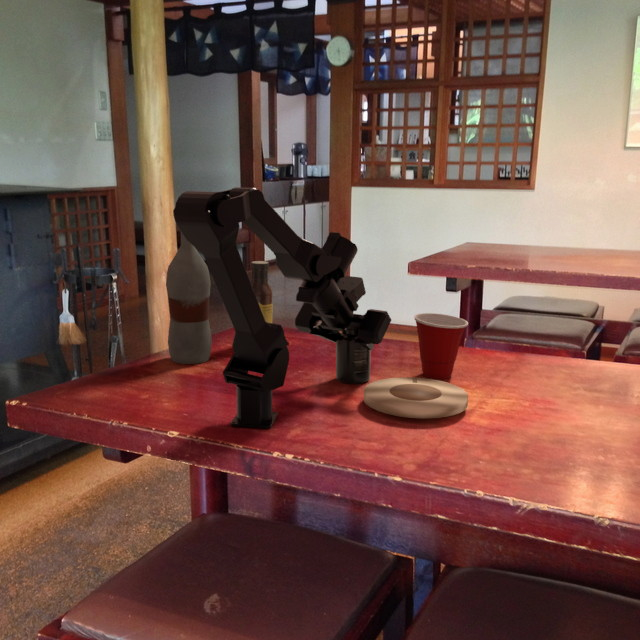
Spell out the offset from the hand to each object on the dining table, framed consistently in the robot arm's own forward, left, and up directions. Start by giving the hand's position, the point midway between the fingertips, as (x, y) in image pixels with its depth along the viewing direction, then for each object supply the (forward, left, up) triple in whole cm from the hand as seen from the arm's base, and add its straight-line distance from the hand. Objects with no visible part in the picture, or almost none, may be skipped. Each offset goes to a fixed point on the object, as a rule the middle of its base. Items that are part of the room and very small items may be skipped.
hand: (357, 345), depth 132 cm
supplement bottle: (-1, +1, -7) cm, 7 cm away
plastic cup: (+5, -16, -7) cm, 18 cm away
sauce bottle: (+23, +25, -7) cm, 34 cm away
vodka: (+8, +37, -7) cm, 38 cm away
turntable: (-15, -11, -7) cm, 20 cm away
